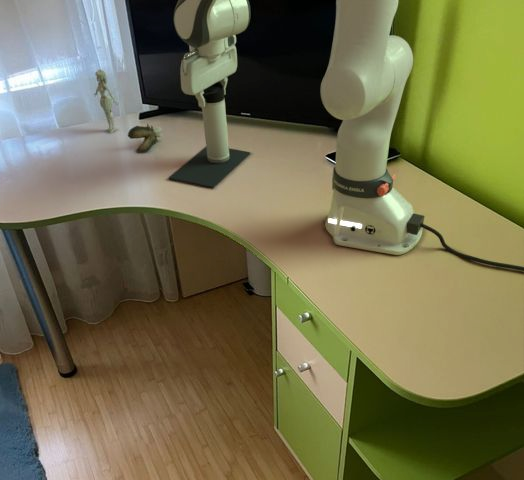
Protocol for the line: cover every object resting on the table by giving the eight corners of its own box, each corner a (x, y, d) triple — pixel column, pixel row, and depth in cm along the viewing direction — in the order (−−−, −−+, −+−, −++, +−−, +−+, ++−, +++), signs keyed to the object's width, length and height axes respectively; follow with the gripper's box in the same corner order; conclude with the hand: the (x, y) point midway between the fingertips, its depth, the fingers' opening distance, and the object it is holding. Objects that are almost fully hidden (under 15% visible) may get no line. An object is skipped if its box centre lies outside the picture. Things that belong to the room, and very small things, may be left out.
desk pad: (250, 154, 161) (250, 152, 161) (212, 188, 148) (212, 186, 147) (208, 146, 166) (208, 144, 166) (168, 179, 152) (168, 177, 152)
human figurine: (97, 127, 180) (82, 68, 167) (106, 123, 182) (92, 64, 169) (119, 137, 174) (105, 76, 161) (129, 133, 176) (116, 72, 163)
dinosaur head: (142, 134, 172) (123, 140, 165) (151, 115, 167) (131, 121, 160) (160, 151, 172) (141, 158, 165) (169, 133, 167) (150, 139, 160)
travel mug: (234, 156, 159) (228, 83, 145) (221, 165, 156) (214, 91, 141) (216, 151, 162) (209, 79, 148) (203, 160, 158) (194, 87, 144)
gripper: (191, 57, 130) (198, 117, 140) (239, 34, 142) (243, 90, 152) (170, 54, 133) (179, 112, 143) (219, 31, 145) (224, 86, 155)
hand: (212, 100), depth 147 cm, fingers open, 7 cm apart
